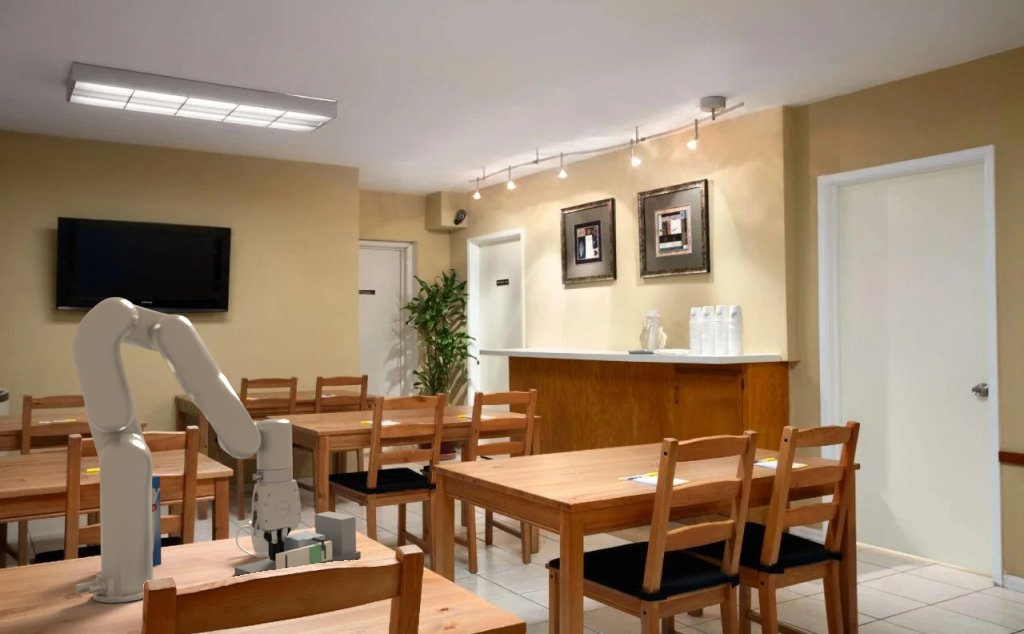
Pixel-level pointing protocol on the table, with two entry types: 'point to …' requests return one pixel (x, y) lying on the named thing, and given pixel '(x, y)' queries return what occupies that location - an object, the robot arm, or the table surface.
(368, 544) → the table surface
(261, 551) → the cup
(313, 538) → the grey block
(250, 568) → the frame
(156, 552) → the milk carton
